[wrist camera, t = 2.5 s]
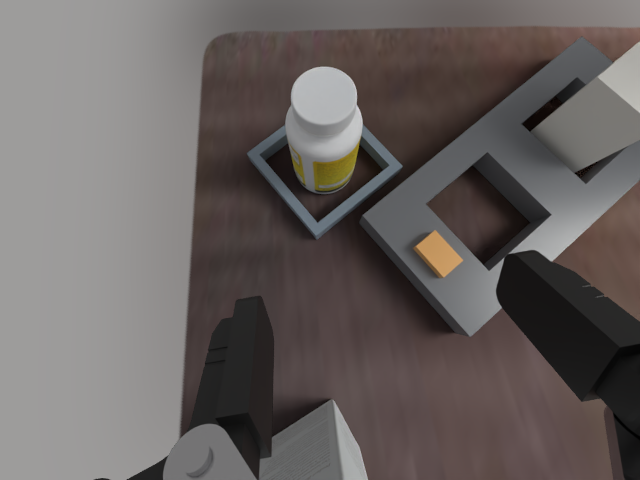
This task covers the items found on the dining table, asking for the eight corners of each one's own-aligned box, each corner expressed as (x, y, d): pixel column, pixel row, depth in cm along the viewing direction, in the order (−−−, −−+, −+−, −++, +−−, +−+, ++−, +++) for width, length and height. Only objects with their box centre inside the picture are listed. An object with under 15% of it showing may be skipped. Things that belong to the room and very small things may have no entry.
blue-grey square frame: (330, 101, 28) (331, 90, 27) (398, 173, 27) (402, 166, 25) (250, 161, 27) (246, 153, 26) (316, 239, 26) (316, 236, 24)
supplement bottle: (364, 156, 27) (385, 79, 18) (335, 206, 26) (342, 153, 17) (313, 130, 28) (307, 42, 18) (283, 178, 27) (260, 111, 17)
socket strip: (560, 58, 29) (647, -31, 21) (660, 144, 27) (797, 82, 19) (358, 223, 26) (373, 190, 18) (455, 333, 24) (518, 349, 16)
